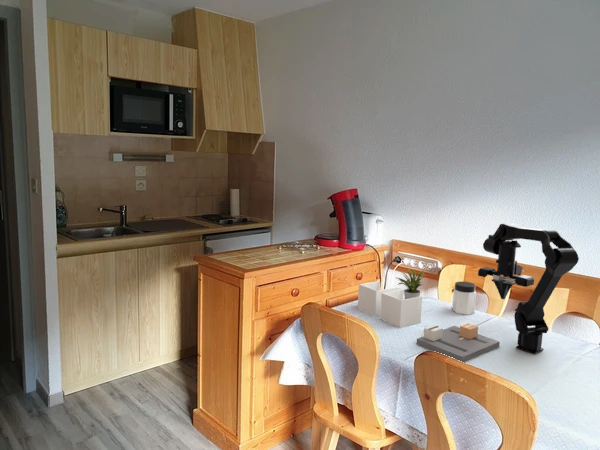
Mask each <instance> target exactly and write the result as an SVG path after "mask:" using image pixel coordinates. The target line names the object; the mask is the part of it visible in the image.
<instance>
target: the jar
mask: <svg viewBox="0 0 600 450" xmlns="http://www.w3.org/2000/svg"><path fill="white" fill-rule="evenodd" d="M476 286H477V285H476V284H475V283H472V282H468V281H456V282H454V288H453V296H452V309H451V310H453V311H454V313H455V314H460V315H464V316H465V315H466V316H469V315H472V314H475V311H476V298H477V297H476V295H477V291H476Z"/></svg>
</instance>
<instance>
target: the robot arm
mask: <svg viewBox="0 0 600 450" xmlns="http://www.w3.org/2000/svg"><path fill="white" fill-rule="evenodd" d="M521 239H522V240H529V241H536V242H540V243H541V252H542V253H543V255H544V257H545V260H544V266H545V270H544V272H543V274H542V275H541V277H540V279H539V281H538V282H537V284H536V286H535V288H534V290H533V291H532V294H531V295H530V297H529V299H528V301H527V300H525V301H519V303H518V304H517V307H516V309H514V311H515V312H514V315H513V316H514V317H513V318H514V324H515V325H514V326H515V330H516V331H517V332H518V335H517V343H516V344H517V345H516V346H515V348H516V349H518V350H521V351H524V352H527V353H530V354H533V355H535V354H538V353H540V352H542V351H543V350H544V348H543V347H542V343H543V334H547V333H548V331H549V327H548V324H547V323H546V321H545V319H544V318H545V316H546V315H545V309H544V307H545V306H546V304H547V302H548V300H549V299H550V297H551V296H552V293H554V291H555V289H556V287H557V285H558V283H559V282H560V281H561V279H562V277H563V276H564V275H565V274H568V272H570V271H572V270H573V269H574V268H575V266H576V265H577V264H578V262H579V260H580V257H579V254H578V252H577V251H576V250H575V249H574V247H573V245H572V244H571V242H568V241H567V240H566V239H565V238H563V237H562V236H561V235H560V233H559V232H558V231H557V230H554V229H539V228H529V227H524V226H523V225H522V224H520V223H500V224H499V226H498V227H497V228H496V230H495V231H494V233H493V234H488V237H487V238H486V239H485V240H484V241H483V243H482V244H483V245H482V248H483V250H484V251H485V252H487V253H490V254H494V255H496V256H497V255H498V257H497V259H496V260H495V263H496V264H497V265H496V266H497V269H495V268H493V267H489V266H484V267H480V268H479V269H478V270H477V276H478V277H482V278H486V277H487V276H492V279H491V281H492V282H493V283H494V284H495V287H496V289H497V291H498V294H499V297H500V299H501V300H505V299H506V297H507V295H508V293H509V291H510V290H511V288H512V287H513V286H514V285H516V286H519V287H525V288H527V287H530V286H533V285H534V283H535V279H534V276H529V275H526V274H523V273H522V272H523V270H524V268H523V266H521V265H518V261H517V260H516V256H517V248H521V247H522V246H521V244H520V243H519V241H518V240H521ZM551 243H552V244H553V245H554V246H556V247H554V248H553V247H552V245H551Z"/></svg>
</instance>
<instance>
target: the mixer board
mask: <svg viewBox="0 0 600 450" xmlns="http://www.w3.org/2000/svg"><path fill="white" fill-rule="evenodd" d="M459 333H460V327H459V326H457V325H453V326H449V327H447V328H444V329H443V332H442V338H441V339H438V340H435V341H431V340H429V339H426V338H424V335H422V336H420V337H419V338H418V337H417V338H416V345H417V346H419V347H422V348H423V349H427V350H429V351H432V352H434V351H436V352H439V353H442V354H445V355H447V356H450V357H453V358H455V359H457V360H460V361H462V362H464V363H466V362H469V361H471V360H473V359H475V358H477V357H479V356H482V355H485V354H486V353H489V352H491V351H493V350H495V349H498V348H500V344H501V342H500V341H499V340H496V339H493V338H492V337H491V338H490V337H487V336H485V335H482V334H479V333H478V336H477V337H474V338H472V339H467V338H464V337H462V336H459ZM436 352H435V353H436ZM439 353H438V354H439Z"/></svg>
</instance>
